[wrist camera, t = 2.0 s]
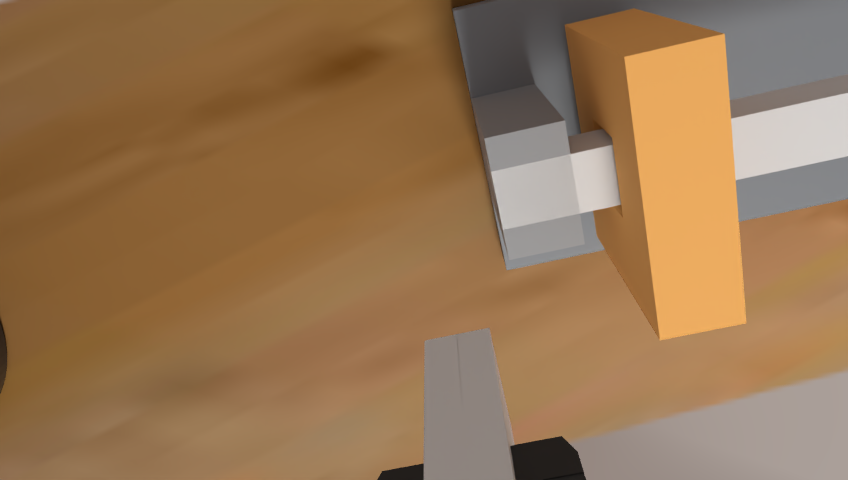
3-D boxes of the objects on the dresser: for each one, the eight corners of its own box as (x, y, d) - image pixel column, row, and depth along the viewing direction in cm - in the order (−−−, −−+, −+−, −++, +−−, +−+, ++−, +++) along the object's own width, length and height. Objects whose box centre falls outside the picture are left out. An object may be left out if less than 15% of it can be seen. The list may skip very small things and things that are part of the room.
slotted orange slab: (596, 235, 35) (660, 340, 26) (564, 24, 31) (624, 56, 22) (659, 222, 35) (746, 323, 25) (634, 8, 31) (724, 33, 22)
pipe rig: (503, 258, 39) (527, 348, 30) (451, 8, 34) (461, 28, 25) (1056, 142, 36) (1254, 202, 28) (1083, -144, 31) (1333, -179, 23)
